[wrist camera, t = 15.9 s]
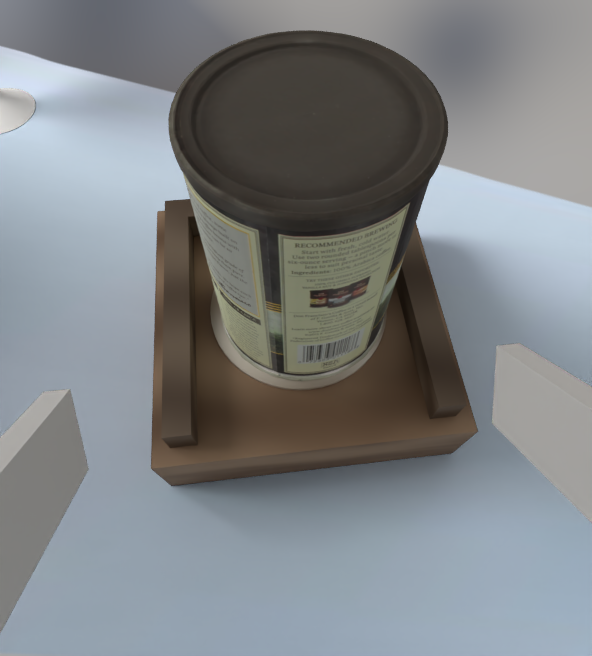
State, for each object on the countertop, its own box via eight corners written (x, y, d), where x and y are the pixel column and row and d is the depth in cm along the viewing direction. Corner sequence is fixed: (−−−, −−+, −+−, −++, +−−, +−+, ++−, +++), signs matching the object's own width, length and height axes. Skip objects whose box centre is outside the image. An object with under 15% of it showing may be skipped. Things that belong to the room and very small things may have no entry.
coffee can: (305, 215, 34) (313, -2, 21) (418, 310, 30) (507, 117, 18) (185, 300, 30) (111, 101, 18) (295, 418, 27) (299, 273, 14)
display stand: (451, 453, 31) (490, 420, 25) (171, 485, 30) (140, 460, 24) (393, 234, 40) (412, 170, 34) (172, 254, 39) (150, 191, 33)
